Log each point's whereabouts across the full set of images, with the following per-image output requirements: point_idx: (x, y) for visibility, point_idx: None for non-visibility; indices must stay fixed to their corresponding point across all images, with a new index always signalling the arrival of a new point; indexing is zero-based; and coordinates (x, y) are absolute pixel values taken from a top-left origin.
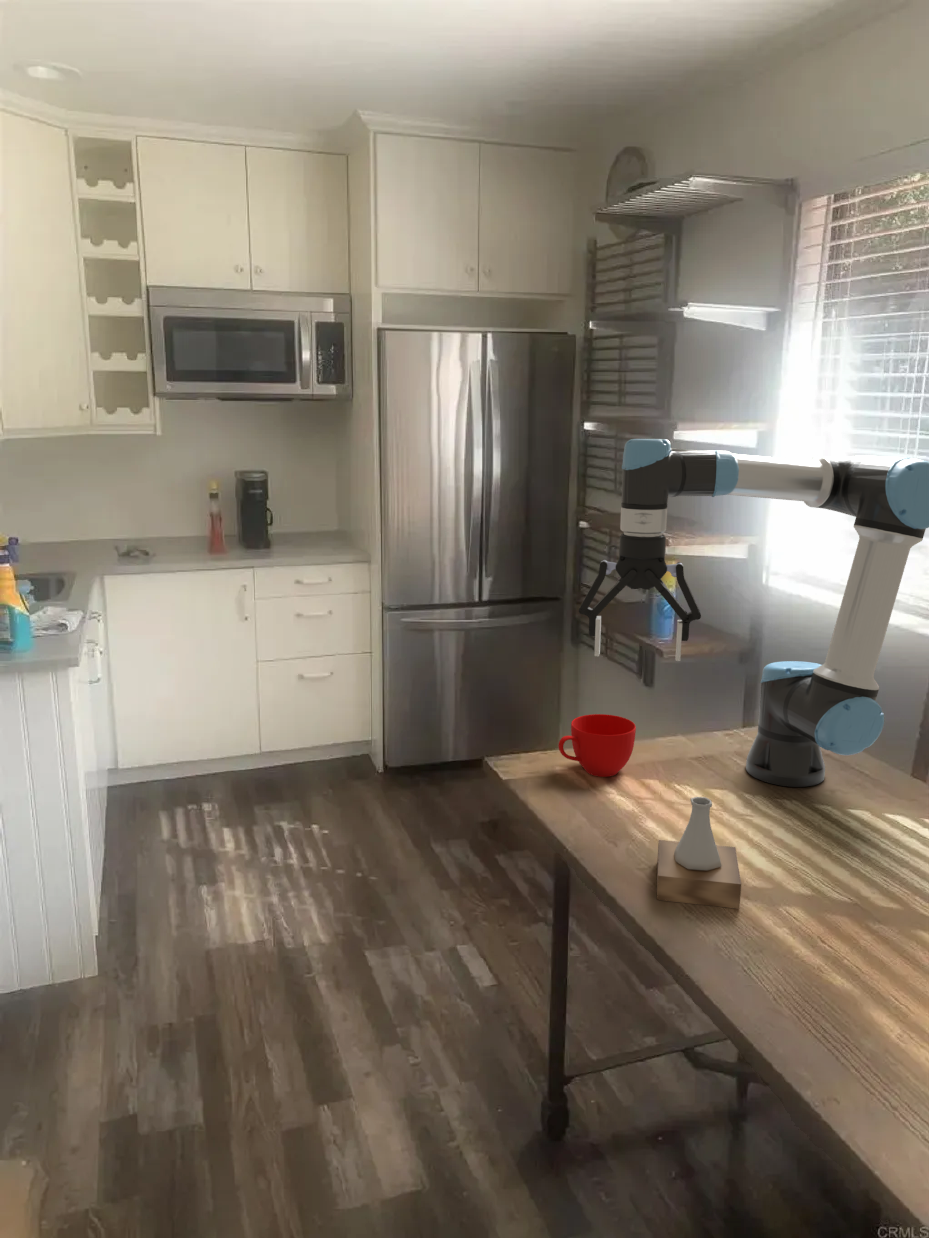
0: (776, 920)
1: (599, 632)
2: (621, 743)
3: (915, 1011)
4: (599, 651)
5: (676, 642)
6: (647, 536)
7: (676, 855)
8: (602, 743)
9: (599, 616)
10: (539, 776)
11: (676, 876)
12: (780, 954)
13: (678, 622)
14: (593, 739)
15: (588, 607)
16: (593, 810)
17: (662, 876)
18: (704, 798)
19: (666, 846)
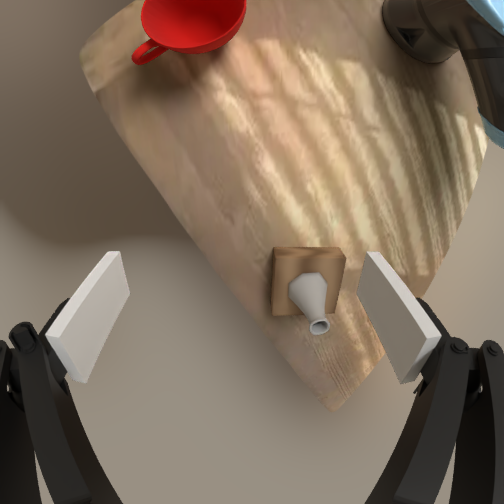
0: (349, 307)
1: (102, 345)
2: (224, 40)
3: (382, 355)
4: (121, 279)
5: (381, 302)
6: None
7: (289, 295)
8: (194, 50)
9: (57, 344)
10: (128, 69)
11: (286, 314)
12: (339, 336)
13: (408, 374)
14: (179, 50)
15: (15, 373)
16: (201, 143)
17: (275, 315)
18: (324, 320)
19: (282, 270)
